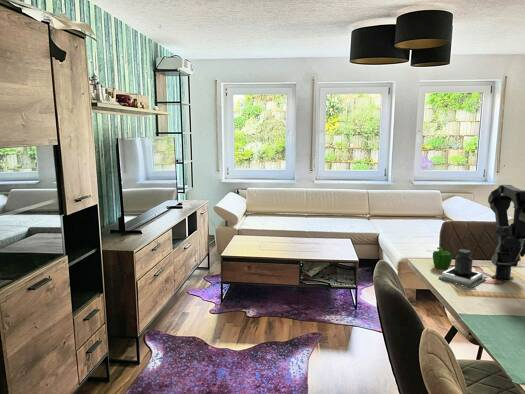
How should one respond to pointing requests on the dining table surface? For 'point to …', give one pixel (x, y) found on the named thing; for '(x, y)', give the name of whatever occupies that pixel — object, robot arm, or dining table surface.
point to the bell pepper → (442, 259)
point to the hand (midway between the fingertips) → (517, 259)
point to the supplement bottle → (463, 264)
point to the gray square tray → (462, 278)
